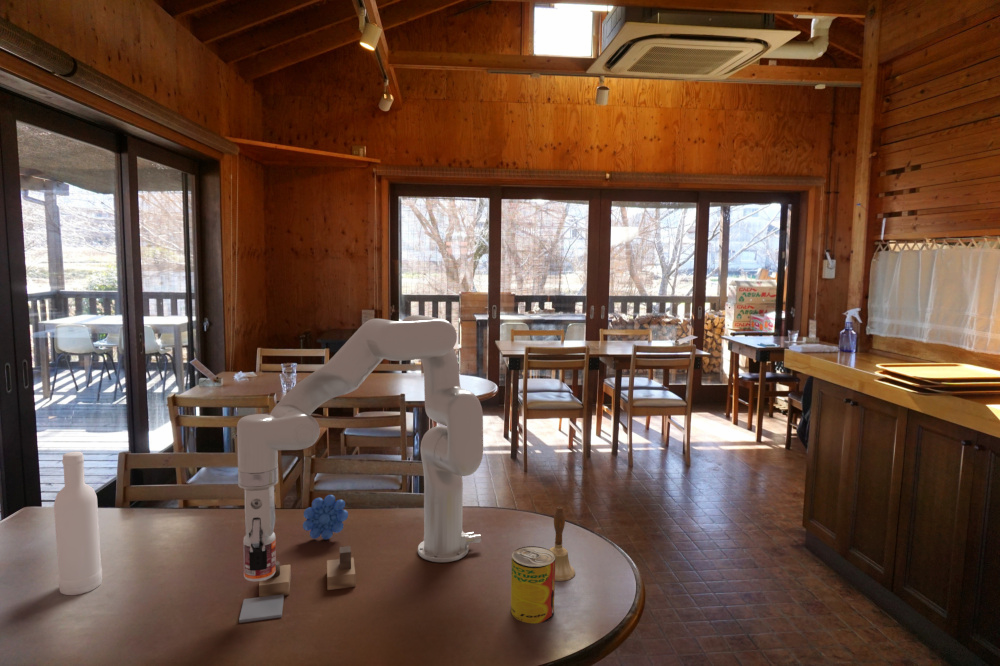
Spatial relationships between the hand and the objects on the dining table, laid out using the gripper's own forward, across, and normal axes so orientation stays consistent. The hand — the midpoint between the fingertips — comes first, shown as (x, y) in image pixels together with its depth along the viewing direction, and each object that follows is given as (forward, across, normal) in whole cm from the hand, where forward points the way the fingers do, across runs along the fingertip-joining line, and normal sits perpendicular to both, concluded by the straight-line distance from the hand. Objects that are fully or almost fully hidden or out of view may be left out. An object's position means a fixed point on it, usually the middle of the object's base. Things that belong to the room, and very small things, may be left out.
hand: (260, 560), depth 127 cm
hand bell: (+10, 0, -65) cm, 66 cm away
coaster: (+11, 0, 0) cm, 11 cm away
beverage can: (+11, -14, -54) cm, 57 cm away
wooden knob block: (+11, +9, -9) cm, 16 cm away
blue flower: (+11, +32, -13) cm, 36 cm away
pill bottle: (+3, 0, 0) cm, 3 cm away
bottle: (+11, +20, +39) cm, 45 cm away
